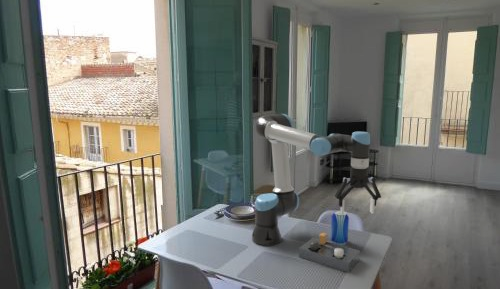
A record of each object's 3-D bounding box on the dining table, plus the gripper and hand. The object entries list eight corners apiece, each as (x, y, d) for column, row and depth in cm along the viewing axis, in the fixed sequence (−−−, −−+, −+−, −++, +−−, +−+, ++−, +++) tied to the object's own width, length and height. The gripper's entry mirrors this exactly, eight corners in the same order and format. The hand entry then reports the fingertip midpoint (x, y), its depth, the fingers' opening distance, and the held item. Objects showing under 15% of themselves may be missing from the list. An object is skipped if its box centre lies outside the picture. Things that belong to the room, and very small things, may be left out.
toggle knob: (318, 244, 169) (319, 234, 168) (321, 241, 171) (322, 232, 170) (323, 245, 167) (323, 236, 166) (326, 242, 170) (326, 233, 169)
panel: (298, 256, 166) (299, 246, 165) (312, 246, 177) (312, 236, 176) (348, 272, 152) (349, 261, 151) (359, 260, 163) (360, 249, 162)
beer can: (348, 246, 176) (349, 216, 174) (330, 245, 178) (331, 214, 175) (346, 239, 184) (348, 210, 182) (330, 238, 186) (331, 209, 183)
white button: (332, 257, 157) (332, 250, 156) (336, 254, 160) (336, 247, 159) (341, 260, 155) (341, 253, 154) (344, 256, 158) (345, 249, 157)
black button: (308, 250, 164) (308, 243, 163) (312, 247, 167) (312, 240, 167) (316, 252, 162) (316, 245, 161) (320, 249, 165) (320, 242, 164)
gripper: (334, 169, 151) (332, 216, 154) (391, 168, 152) (387, 215, 156) (329, 165, 158) (327, 210, 162) (383, 164, 160) (380, 209, 163)
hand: (356, 213), depth 159 cm, fingers open, 13 cm apart
